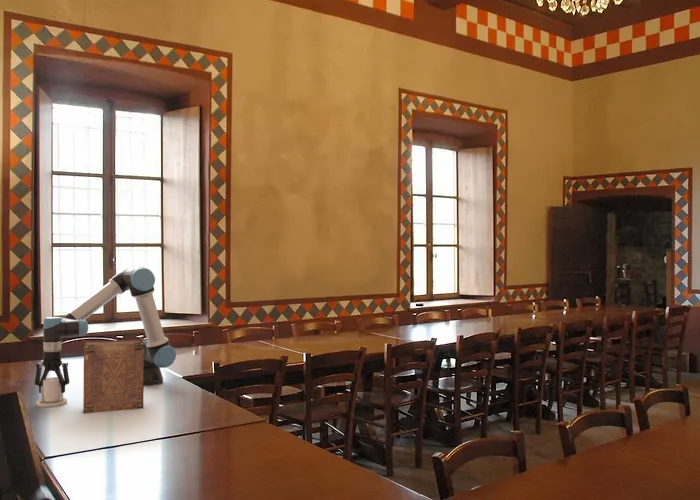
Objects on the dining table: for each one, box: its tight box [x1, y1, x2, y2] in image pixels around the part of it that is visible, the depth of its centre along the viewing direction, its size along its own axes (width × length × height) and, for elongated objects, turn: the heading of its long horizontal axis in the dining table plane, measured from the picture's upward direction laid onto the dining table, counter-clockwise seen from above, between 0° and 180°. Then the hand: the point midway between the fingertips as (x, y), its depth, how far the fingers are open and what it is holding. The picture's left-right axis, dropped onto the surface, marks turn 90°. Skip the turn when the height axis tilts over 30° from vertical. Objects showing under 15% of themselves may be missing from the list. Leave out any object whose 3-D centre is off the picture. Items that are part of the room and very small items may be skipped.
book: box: [82, 339, 145, 414], centre depth 285 cm, size 25×9×30 cm, turn 111°
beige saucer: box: [35, 397, 68, 409], centre depth 293 cm, size 13×13×2 cm
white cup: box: [43, 376, 61, 402], centre depth 293 cm, size 8×8×10 cm
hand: (52, 399), depth 293 cm, fingers closed on white cup, 7 cm apart
